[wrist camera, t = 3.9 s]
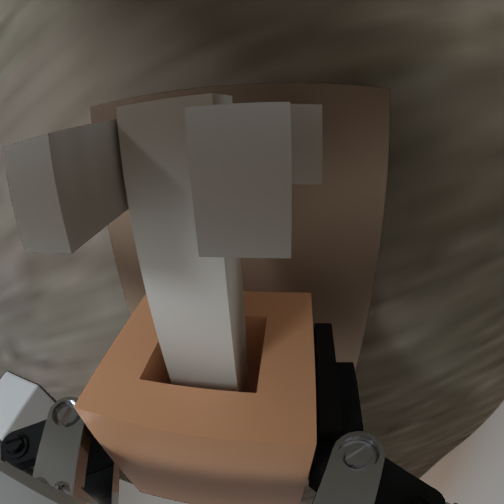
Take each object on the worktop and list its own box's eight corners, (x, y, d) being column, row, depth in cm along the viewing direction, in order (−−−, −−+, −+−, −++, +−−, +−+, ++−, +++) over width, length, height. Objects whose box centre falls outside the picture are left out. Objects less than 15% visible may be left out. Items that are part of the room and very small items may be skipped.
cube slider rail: (111, 104, 11) (-77, 145, 3) (377, 89, 9) (544, 84, 2) (201, 469, 23) (181, 549, 15) (316, 478, 22) (313, 562, 14)
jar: (71, 439, 25) (29, 523, 15) (11, 397, 24) (-38, 473, 13) (77, 410, 21) (20, 519, 11) (4, 357, 20) (-64, 450, 10)
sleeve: (150, 286, 10) (73, 406, 5) (310, 292, 9) (317, 443, 5) (178, 388, 12) (140, 492, 8) (301, 397, 11) (296, 514, 7)
